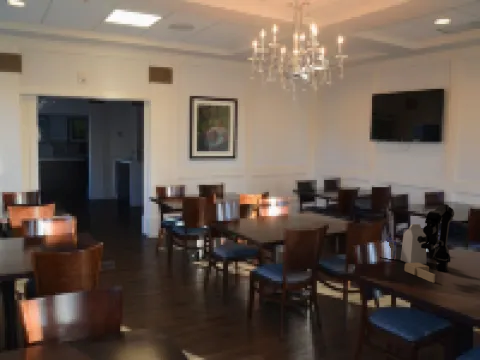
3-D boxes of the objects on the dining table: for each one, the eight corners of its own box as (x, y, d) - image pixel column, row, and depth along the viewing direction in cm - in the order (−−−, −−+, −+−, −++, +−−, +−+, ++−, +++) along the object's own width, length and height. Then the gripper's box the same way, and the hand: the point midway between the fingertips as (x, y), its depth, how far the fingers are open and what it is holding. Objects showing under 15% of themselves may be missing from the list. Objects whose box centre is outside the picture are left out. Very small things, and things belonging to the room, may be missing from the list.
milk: (410, 264, 307) (412, 225, 305) (400, 260, 318) (402, 222, 316) (426, 263, 310) (428, 225, 308) (415, 259, 321) (418, 222, 319)
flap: (434, 282, 266) (435, 274, 266) (433, 282, 266) (433, 274, 266) (417, 275, 280) (418, 267, 280) (416, 275, 280) (416, 267, 279)
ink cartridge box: (395, 258, 321) (397, 238, 320) (393, 260, 317) (394, 239, 316) (381, 256, 327) (382, 236, 326) (379, 257, 322) (380, 237, 321)
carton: (417, 270, 292) (418, 262, 292) (428, 274, 283) (429, 266, 283) (404, 271, 289) (404, 263, 289) (414, 275, 280) (415, 267, 279)
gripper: (426, 228, 287) (425, 253, 289) (413, 232, 274) (411, 258, 276) (444, 231, 279) (443, 256, 281) (431, 235, 266) (430, 262, 268)
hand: (431, 258), depth 277 cm, fingers closed
